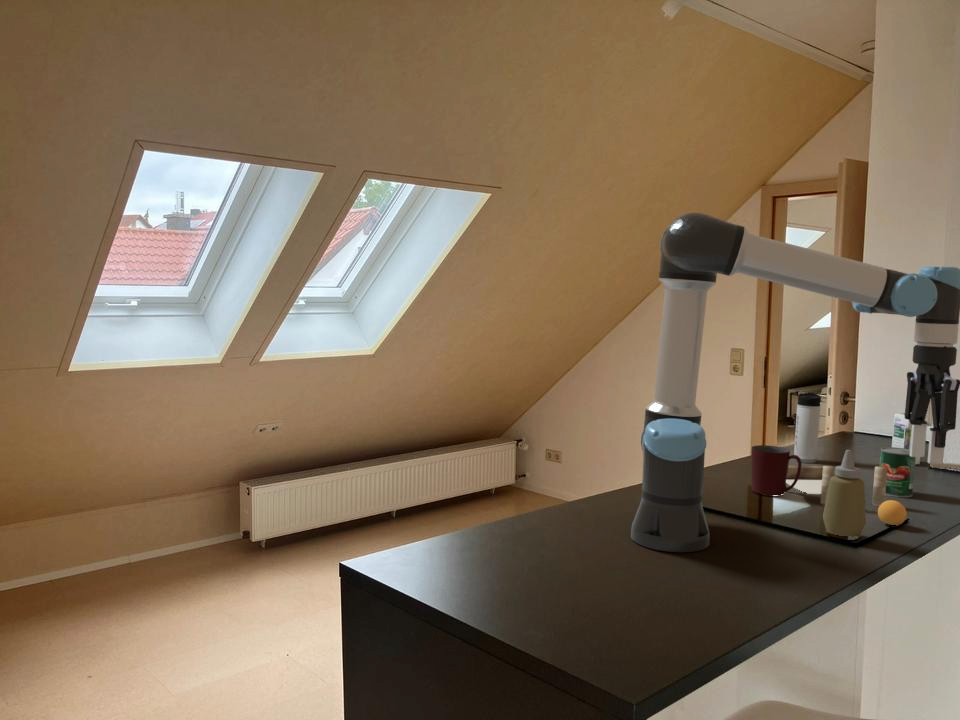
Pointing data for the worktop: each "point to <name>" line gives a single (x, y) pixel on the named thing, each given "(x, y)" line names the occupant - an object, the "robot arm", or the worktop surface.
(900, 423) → the syrup box
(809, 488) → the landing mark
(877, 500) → the post
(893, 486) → the canned tomato
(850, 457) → the squeeze bottle
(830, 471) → the post
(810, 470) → the stopper strip
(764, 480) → the mug
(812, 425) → the travel mug
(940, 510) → the worktop surface
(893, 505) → the ball
